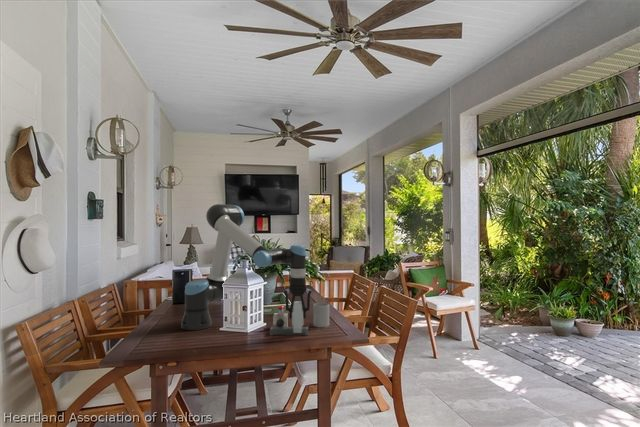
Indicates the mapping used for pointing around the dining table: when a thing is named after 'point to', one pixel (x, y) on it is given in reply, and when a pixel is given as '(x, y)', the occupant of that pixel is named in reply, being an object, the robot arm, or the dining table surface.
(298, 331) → the block
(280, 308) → the gauge plunger
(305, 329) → the rail
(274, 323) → the gauge cabinet
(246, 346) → the dining table surface
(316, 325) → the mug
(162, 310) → the dining table surface
